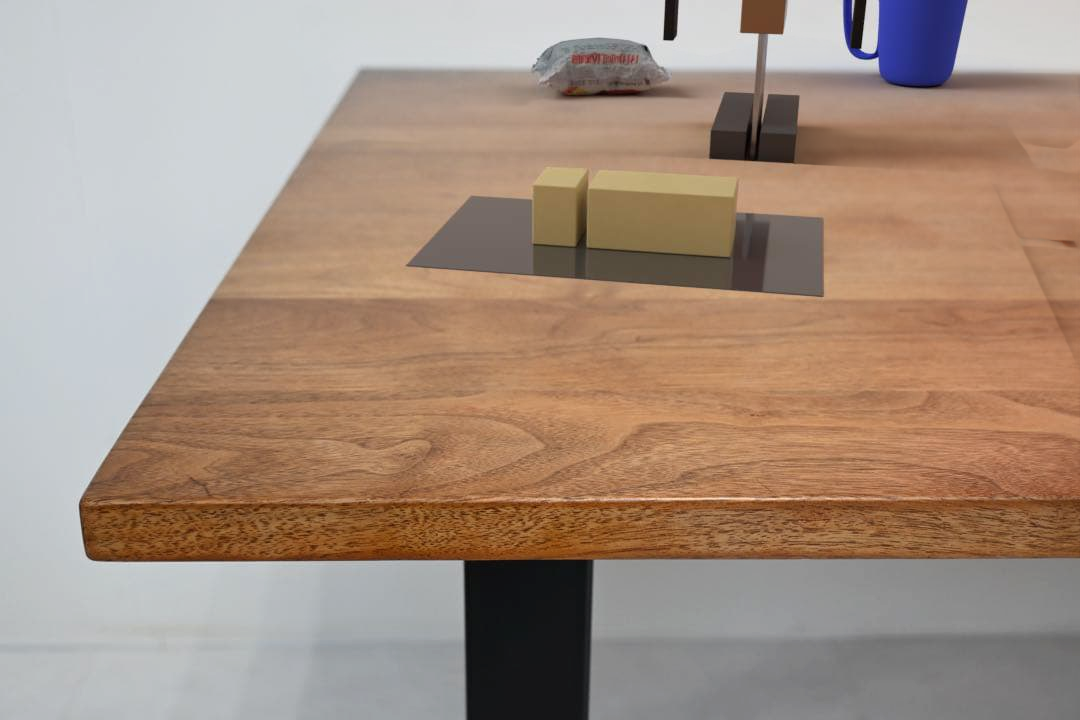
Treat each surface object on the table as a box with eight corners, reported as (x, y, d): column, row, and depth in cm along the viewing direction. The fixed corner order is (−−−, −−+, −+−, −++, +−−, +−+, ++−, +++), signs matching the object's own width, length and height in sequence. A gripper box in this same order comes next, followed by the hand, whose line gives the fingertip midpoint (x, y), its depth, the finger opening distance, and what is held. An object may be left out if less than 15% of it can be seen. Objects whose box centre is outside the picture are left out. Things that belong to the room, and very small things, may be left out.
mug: (852, 67, 129) (862, -35, 125) (969, 80, 123) (984, -27, 119) (819, 79, 123) (829, -27, 119) (941, 93, 116) (955, -18, 113)
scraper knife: (777, 130, 100) (790, -26, 95) (773, 161, 91) (786, -10, 86) (739, 128, 101) (750, -27, 96) (731, 158, 92) (742, -11, 87)
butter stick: (734, 236, 72) (738, 177, 71) (730, 258, 69) (734, 196, 67) (597, 227, 74) (599, 169, 72) (586, 248, 70) (587, 187, 69)
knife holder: (796, 132, 102) (799, 95, 101) (792, 175, 89) (796, 134, 88) (722, 128, 103) (724, 91, 102) (708, 171, 90) (710, 129, 89)
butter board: (821, 236, 76) (823, 217, 76) (821, 318, 64) (823, 296, 63) (471, 213, 80) (470, 195, 80) (406, 286, 68) (405, 265, 67)
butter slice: (587, 226, 74) (588, 168, 73) (575, 247, 70) (576, 186, 69) (546, 224, 74) (546, 166, 73) (532, 244, 71) (532, 184, 69)
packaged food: (670, 103, 112) (672, 46, 110) (537, 105, 111) (538, 48, 109) (653, 85, 120) (655, 32, 118) (529, 87, 119) (529, 34, 117)
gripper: (595, -283, 83) (587, 42, 92) (986, -284, 79) (940, 58, 87) (612, -275, 90) (603, 27, 99) (973, -276, 86) (931, 40, 94)
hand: (761, 42), depth 93 cm, fingers open, 13 cm apart
